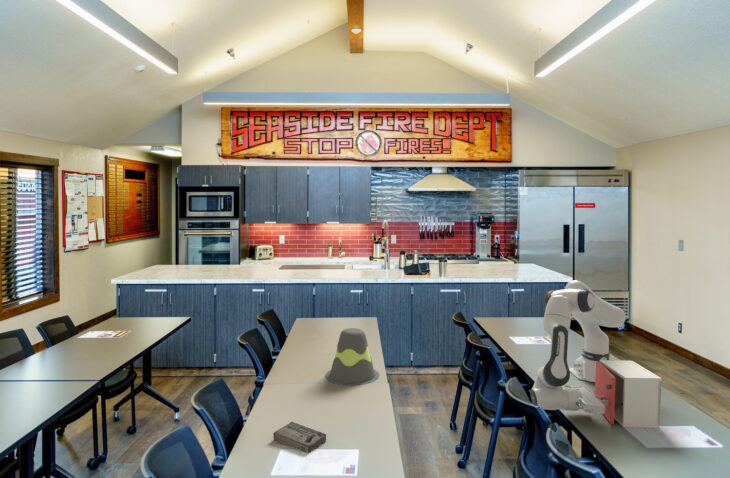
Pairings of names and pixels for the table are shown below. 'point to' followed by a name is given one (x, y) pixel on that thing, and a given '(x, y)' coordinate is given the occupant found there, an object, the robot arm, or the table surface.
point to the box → (299, 437)
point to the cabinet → (635, 394)
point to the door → (605, 389)
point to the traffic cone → (352, 360)
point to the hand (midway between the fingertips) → (606, 400)
